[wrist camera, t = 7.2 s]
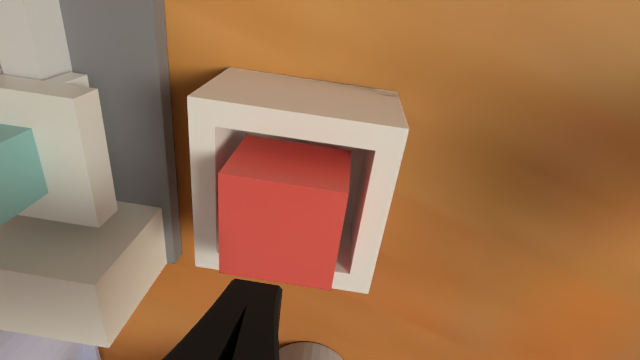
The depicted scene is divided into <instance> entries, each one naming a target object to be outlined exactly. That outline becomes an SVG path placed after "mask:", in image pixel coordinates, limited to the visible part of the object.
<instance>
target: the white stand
mask: <svg viewBox="0 0 640 360" xmlns="http://www.w3.org/2000/svg"><path fill="white" fill-rule="evenodd" d="M0 63H1V67H2V70H3V74H4V75H9V76H16V77H23V78H29V79H36V80H43V81H44V80H47V79H50V78H53V77H56V76H59V75H63V74H66V73H69V72H72V73H79V74H86V75H87V77H88V82H89V87H90V88H96V89H98V93H99V99H100V106H101V112H102V118H103V124H104V130H105V136H106V142H107V148H108V154H109V160H110V166H111V172H112V178H113V184H114V191H115V197H116V203H117V209H118V210H117V211H116V212H115V213H114V214H113V215H112V216H111V217H110V218H109V219H108V220H107V221H106V222H105V223H103V224H102V225H101V226H100V227H99V228H97V227H90V226H84V225H78V224H72V223H65V222H59V221H53V220H47V219H40V218H34V217H28V216H22V215H16V216H14V217H13V218H11V219H10V220H8V221H7V222H5V223H4V224H3V225H1V226H0V330H4V331H10V332H16V333H22V334H28V335H34V336H40V337H45V338H51V339H57V340H63V341H69V342H75V343H81V344H87V345H93V346H99V347H105V348H109V347H110V346H111V344H112V343H113V341H114V340H115V338H116V337H117V335H118V334H119V332H120V331H121V329H122V328H123V327H124V325H125V324H126V322H127V321H128V319H129V318H130V316H131V315H132V313H133V312H134V310H135V309H136V308H137V306H138V305H139V303H140V302H141V300H142V299H143V297H144V296H145V294H146V293H147V291H148V290H149V289H150V287H151V286H152V284H153V283H154V281H155V280H156V278H157V277H158V275H159V274H160V272H161V271H162V269H163V268H164V267H165V265H166V264H167V263H171V264H176V262H177V260H178V259H179V257H180V256H181V254H182V247H181V233H180V219H179V205H178V191H177V177H176V163H175V149H174V135H173V121H172V107H171V93H170V79H169V65H168V51H167V37H166V23H165V9H164V0H0Z"/></svg>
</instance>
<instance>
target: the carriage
mask: <svg viewBox="0 0 640 360" xmlns="http://www.w3.org/2000/svg"><path fill="white" fill-rule="evenodd" d="M117 210H118V209H117V203H116V197H115V191H114V184H113V178H112V172H111V166H110V160H109V154H108V148H107V142H106V136H105V130H104V124H103V118H102V112H101V106H100V99H99V93H98V89H96V88H90V87H89V82H88V77H87V75H86V74H79V73H72V72H69V73H66V74H63V75H59V76H56V77H53V78H50V79H47V80H44V81H43V80H36V79H29V78H23V77H16V76H9V75H4V74H3V70H2V67H1V63H0V226H1V225H3V224H4V223H5V222H7V221H8V220H10V219H11V218H13V217H14V216H16V215H22V216H28V217H34V218H40V219H47V220H53V221H59V222H65V223H72V224H78V225H84V226H90V227H97V228H99V227H100V226H101V225H102V224H103V223H105V222H106V221H107V220H108V219H109V218H110V217H111V216H112V215H113V214H114V213H115V212H116V211H117Z"/></svg>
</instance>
